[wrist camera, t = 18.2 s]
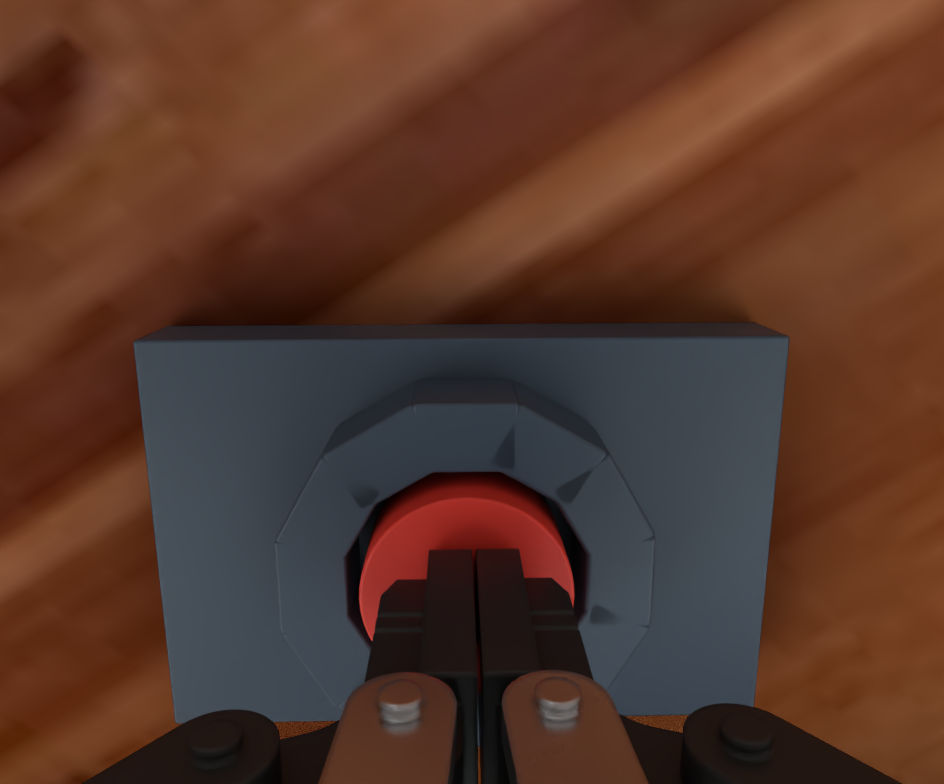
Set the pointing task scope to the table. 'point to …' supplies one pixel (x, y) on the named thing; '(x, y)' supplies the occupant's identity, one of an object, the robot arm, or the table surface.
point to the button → (460, 532)
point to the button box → (459, 450)
